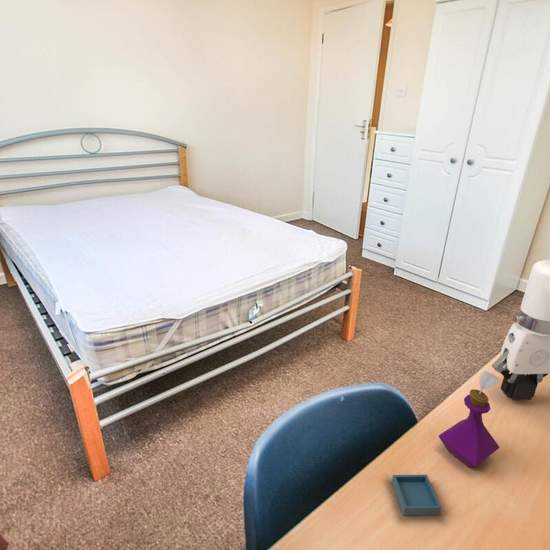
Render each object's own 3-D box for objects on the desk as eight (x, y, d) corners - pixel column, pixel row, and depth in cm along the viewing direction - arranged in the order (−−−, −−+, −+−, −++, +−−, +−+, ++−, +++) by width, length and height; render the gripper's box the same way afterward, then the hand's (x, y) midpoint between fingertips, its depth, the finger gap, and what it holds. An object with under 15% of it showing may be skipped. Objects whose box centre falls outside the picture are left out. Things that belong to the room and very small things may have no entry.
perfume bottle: (471, 479, 66) (499, 398, 59) (434, 448, 72) (455, 371, 64) (495, 460, 70) (524, 381, 62) (458, 432, 75) (481, 357, 68)
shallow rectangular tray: (424, 481, 65) (426, 474, 64) (439, 515, 60) (441, 507, 59) (391, 482, 65) (393, 474, 64) (403, 515, 60) (405, 508, 59)
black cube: (519, 387, 86) (524, 373, 85) (531, 400, 82) (536, 385, 81) (502, 388, 86) (506, 373, 84) (513, 400, 82) (517, 385, 81)
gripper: (510, 331, 73) (488, 406, 80) (594, 330, 74) (565, 404, 81) (488, 312, 80) (470, 383, 87) (565, 311, 81) (541, 381, 88)
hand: (516, 392), depth 84 cm, fingers closed on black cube, 4 cm apart
